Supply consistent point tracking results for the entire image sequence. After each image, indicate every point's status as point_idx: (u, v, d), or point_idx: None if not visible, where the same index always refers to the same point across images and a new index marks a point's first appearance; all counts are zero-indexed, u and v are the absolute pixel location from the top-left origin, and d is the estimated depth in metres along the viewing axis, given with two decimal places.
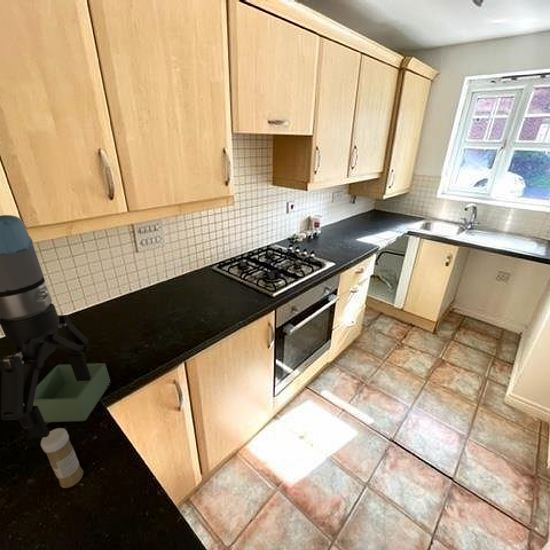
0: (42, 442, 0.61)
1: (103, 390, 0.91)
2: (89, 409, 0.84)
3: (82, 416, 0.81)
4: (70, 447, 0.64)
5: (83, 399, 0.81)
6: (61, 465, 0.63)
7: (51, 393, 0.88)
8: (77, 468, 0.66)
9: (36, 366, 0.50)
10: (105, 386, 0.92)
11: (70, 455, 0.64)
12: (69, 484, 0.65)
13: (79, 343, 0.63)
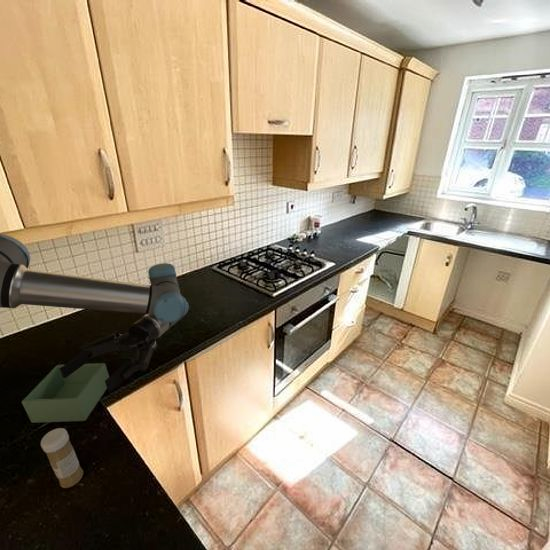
0: (42, 442, 0.61)
1: (103, 390, 0.91)
2: (89, 409, 0.84)
3: (82, 416, 0.81)
4: (70, 447, 0.64)
5: (83, 399, 0.81)
6: (61, 465, 0.63)
7: (51, 393, 0.88)
8: (77, 468, 0.66)
9: (139, 354, 0.78)
10: (105, 386, 0.92)
11: (70, 455, 0.64)
12: (69, 484, 0.65)
13: None
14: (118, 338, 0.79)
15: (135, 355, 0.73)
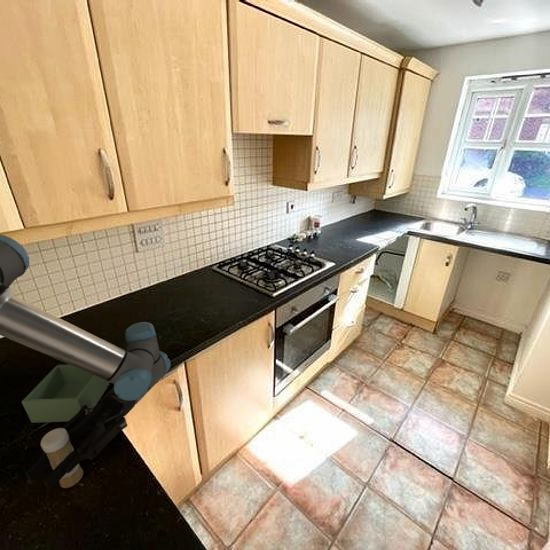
0: (42, 442, 0.61)
1: (103, 390, 0.91)
2: None
3: None
4: (70, 447, 0.64)
5: (83, 399, 0.81)
6: None
7: (51, 393, 0.88)
8: (77, 468, 0.66)
9: (104, 432, 0.72)
10: (105, 386, 0.92)
11: None
12: (69, 484, 0.65)
13: None
14: (91, 414, 0.73)
15: (89, 440, 0.67)
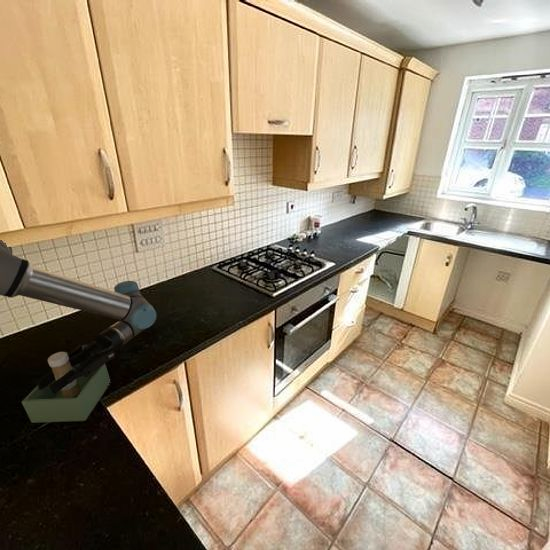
0: (49, 359, 0.81)
1: (103, 390, 0.91)
2: (89, 409, 0.84)
3: (82, 416, 0.81)
4: (70, 366, 0.84)
5: (83, 399, 0.81)
6: None
7: (51, 393, 0.88)
8: (75, 384, 0.86)
9: None
10: (105, 386, 0.92)
11: None
12: (69, 396, 0.85)
13: None
14: (86, 348, 0.93)
15: (84, 363, 0.87)
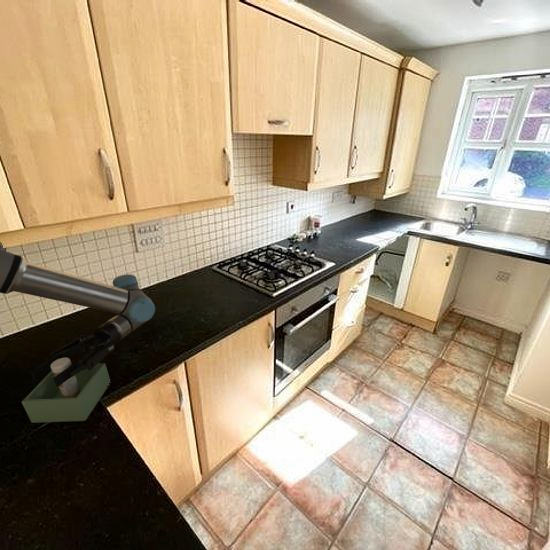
0: (52, 365, 0.82)
1: (103, 390, 0.91)
2: (89, 409, 0.84)
3: (82, 416, 0.81)
4: None
5: (83, 399, 0.81)
6: (65, 384, 0.84)
7: (51, 393, 0.88)
8: (77, 390, 0.87)
9: None
10: (105, 386, 0.92)
11: (73, 378, 0.85)
12: None
13: None
14: (84, 341, 0.92)
15: (86, 356, 0.86)
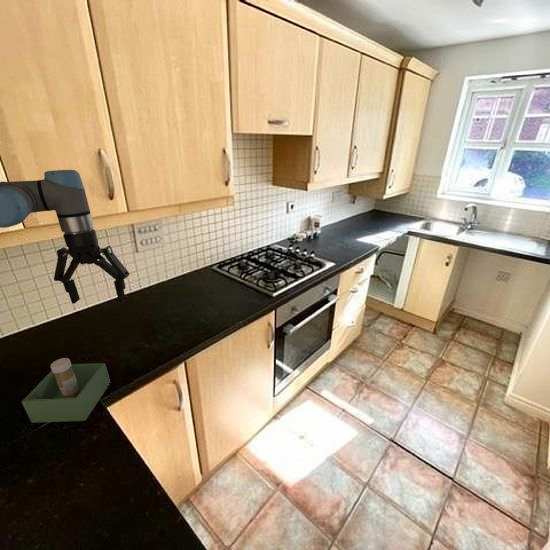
0: (51, 366, 0.82)
1: (103, 390, 0.91)
2: (89, 409, 0.84)
3: (82, 416, 0.81)
4: (72, 372, 0.85)
5: (83, 399, 0.81)
6: (65, 384, 0.84)
7: (51, 393, 0.88)
8: (77, 390, 0.87)
9: (104, 258, 0.85)
10: (105, 386, 0.92)
11: (73, 378, 0.85)
12: None
13: (62, 276, 0.86)
14: (74, 261, 0.82)
15: (111, 272, 0.84)
